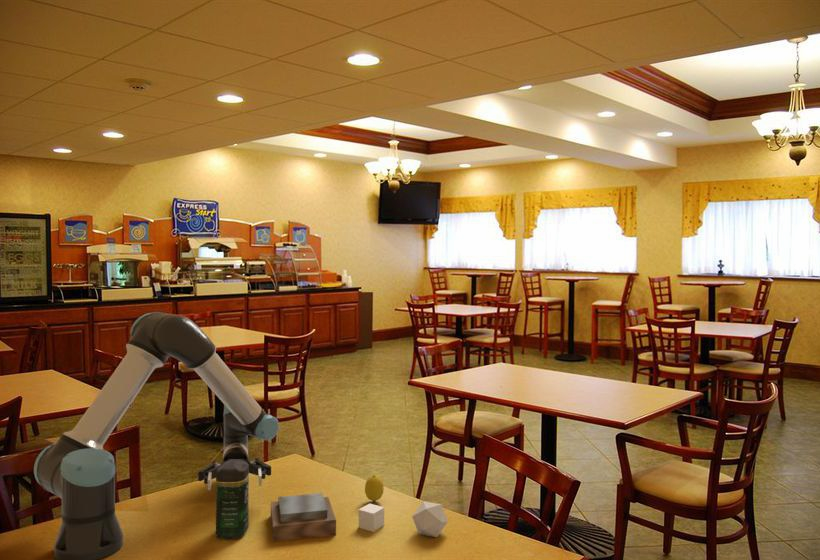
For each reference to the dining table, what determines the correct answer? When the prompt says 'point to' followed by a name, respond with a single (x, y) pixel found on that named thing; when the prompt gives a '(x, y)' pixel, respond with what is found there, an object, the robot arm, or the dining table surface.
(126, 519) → the dining table surface
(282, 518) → the tower stand
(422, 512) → the die
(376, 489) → the lemon
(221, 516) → the coffee jar
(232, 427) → the robot arm
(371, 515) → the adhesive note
